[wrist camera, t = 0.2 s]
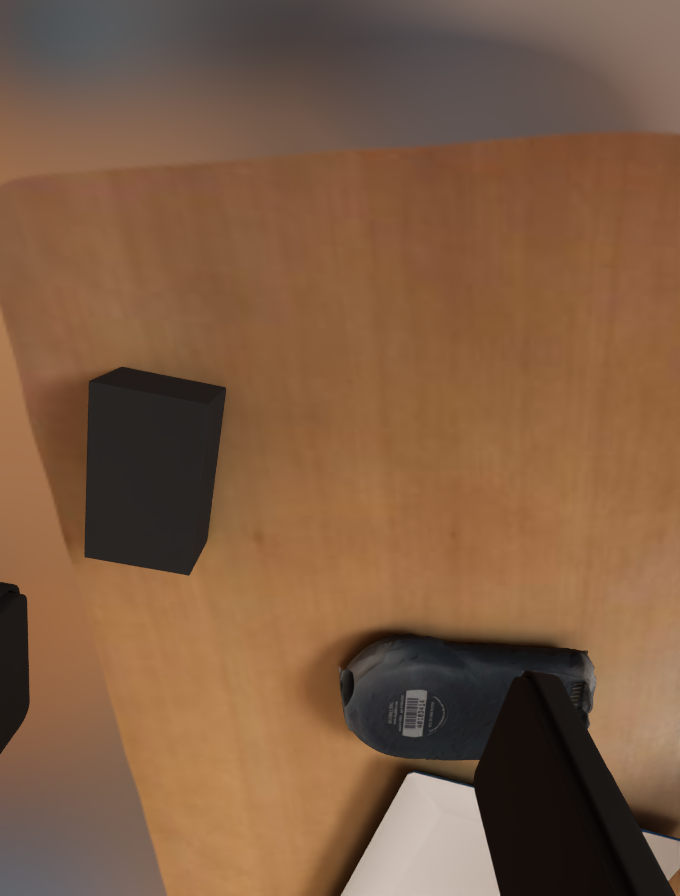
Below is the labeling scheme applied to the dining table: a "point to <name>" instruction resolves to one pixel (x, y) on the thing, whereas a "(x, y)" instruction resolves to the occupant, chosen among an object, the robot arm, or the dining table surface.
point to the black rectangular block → (150, 468)
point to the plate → (445, 845)
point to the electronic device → (446, 692)
